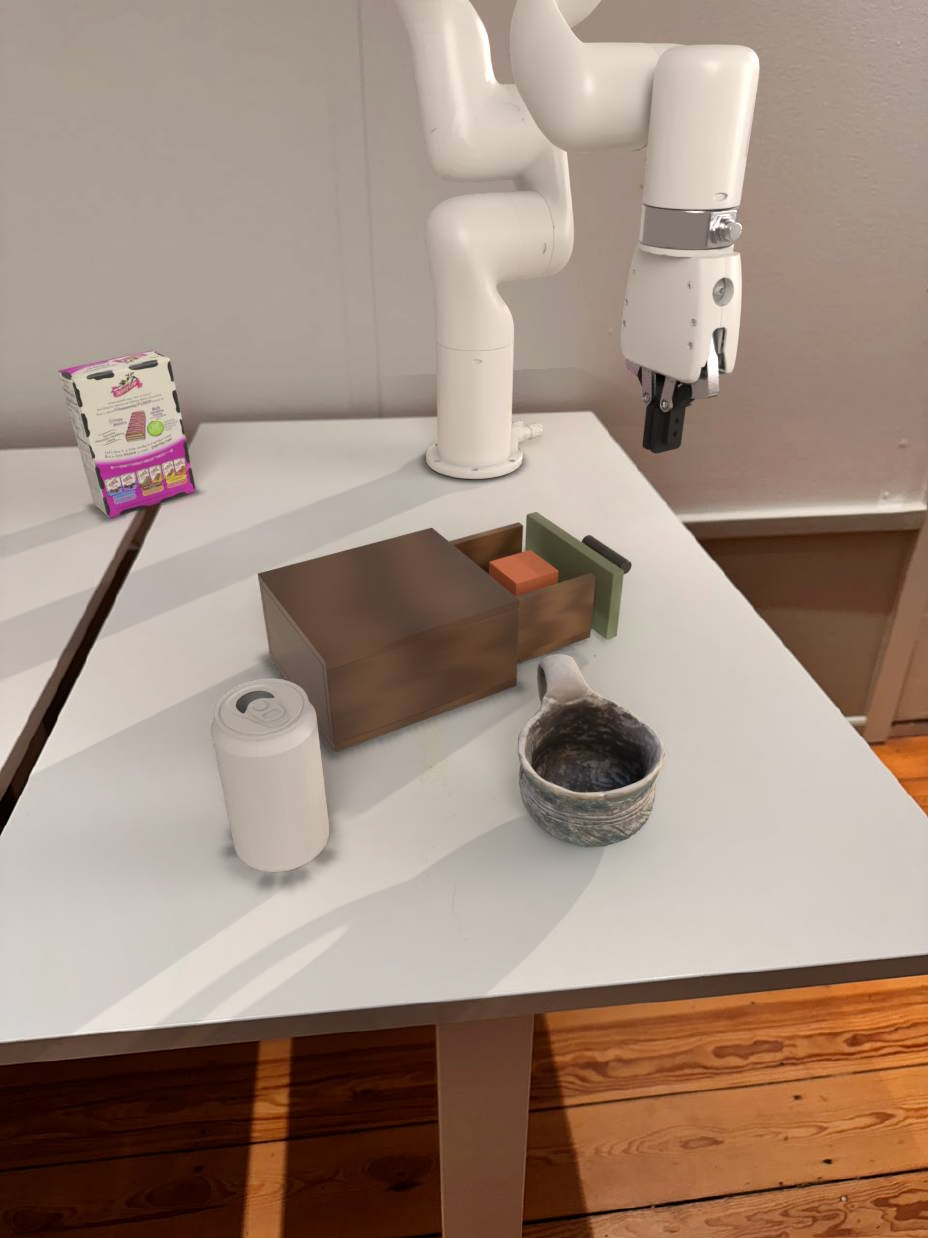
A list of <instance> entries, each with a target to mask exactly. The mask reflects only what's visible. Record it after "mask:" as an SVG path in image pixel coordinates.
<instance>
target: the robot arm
mask: <svg viewBox="0 0 928 1238" xmlns="http://www.w3.org/2000/svg"><path fill="white" fill-rule="evenodd" d="M601 2H602V0H516V2H515V5H514V9H513V12H512V17H511V22H510V30H509V31H510V32H509V56H510V67H511V73H512V77H513V81H514V83H503V84H502V83H499V81H498V80H497V79H496V77H495V73H494V69H493V63H492V55H491V53H492V52H491V44H490V39H489V35H488V32H487V29H486V27H485V25H484V22H483V21H482V19H481V17H480V15H479V14H478V12H477V10H476V8H475V7H474V5H473V4H472V2H471V1H470V0H394V3H395V7H396V9H397V11H398V14H399V17H400V21H401V23H402V26H403V29H404V31H405V35H406V38H407V41H408V44H409V49H410V54H411V59H412V67H413V75H414V83H415V89H416V96H417V104H418V111H419V117H420V118H419V119H420V123H421V131H422V137H423V143H424V148H425V154H426V157H427V161H428V163H429V167H430V169H431V171H432V173H433V174H434V175H435V176H436V177H437V178H438V179H441V180H442V181H445V182H449V183H482V182H497V181H512V183H513V186H514V191H494V192H493V191H492V192H479V193H478V192H477V193H467V194H461V195H457V196H452V197H450V198H447V199H445V200H443V201H441V202H439V203H438V204H437V205H435V207H434V208H433V209H432V210H431V212H430V213H429V215H428V217H427V219H426V223H425V228H424V243H425V251H426V256H427V263H428V267H429V273H430V279H431V286H432V293H433V304H434V305H433V306H434V328H435V329H434V330H435V331H434V333H435V335H434V336H435V337H434V338H435V365H436V366H435V375H436V376H435V379H436V427H437V428H436V429H437V431H436V433H437V434H436V435H437V440H436V441H435V442H434V443H432V444H431V445H430V446H429V447H427V449H426V451H425V461H426V464H427V466H428V467H429V468H430V469H432V470H433V471H434V472H437V473H438V474H441V475H444V476H447V477H450V478H455V479H463V480H485V479H494V478H497V477H503V476H505V475H508V474H510V473H512V472H514V471H516V470H517V469H519V468H520V466H521V465H522V463H523V454H524V452H523V450H522V448H520V447H519V445H521V444H523V443H524V441H526V440H533V439H537V438H541V437H543V434H544V428H543V426H542V424H541V423H540V422H534V423H529V424H526V425H524V422H523V421H522V420H516V421H513V391H514V390H513V388H514V387H513V386H514V352H515V323H514V319H513V315H512V313H511V310H510V308H509V307H508V305H507V304H506V302H505V301H504V299H503V298H502V296H501V295H500V293H499V291H498V288H497V286H498V285H499V284H503V283H508V282H514V281H515V282H516V281H523V280H530V279H531V280H532V279H538V278H545V277H550V276H553V275H556V274H557V273H559V272H561V271H562V270H563V269H564V268H565V267H566V266H567V264H568V263H569V261H570V258H571V257H572V253H573V248H574V242H575V226H574V224H575V222H574V211H573V210H574V209H573V199H572V190H571V189H572V188H571V180H570V170H569V160H568V153H570V154H576V155H577V154H578V155H579V154H581V155H583V154H584V155H585V154H597V153H599V154H601V153H616V152H646V157H645V168H644V177H643V192H642V198H641V199H642V200H641V211H640V223H639V233H638V242H637V243H636V244H635V247H634V250H633V251H634V252H633V255H632V259H631V263H630V267H629V272H628V276H627V282H626V287H625V293H624V299H623V307H622V317H621V326H620V352H621V354H622V356H623V357H624V359H625V360H624V361H625V362H624V366H625V368H626V370H628V371H629V372H630V373H631V374H632V375H634V376H635V377H636V378H637V379H638V381H639V384H640V386H641V399H642V402H643V404H644V405H646V407H645V417H644V425H643V426H644V427H643V434H642V446H641V447H642V448H643V449H645V450H646V451H650V452H651V453H653V454H656V455H657V454H662V453H665V452H669V451H673V450H677V449H679V448H680V447H681V445H682V440H683V431H684V425H685V424H684V423H685V416H686V410H687V409H686V408H690V407H691V406H692V405H693V404H694V401H695V400H707V399H712V398H713V399H714V398H716V397H718V396H719V393H720V377H726V376H729V375H731V374H732V373H733V371H734V368H735V365H736V359H737V353H738V347H739V346H738V345H739V337H740V327H741V316H742V315H741V314H742V297H743V295H742V294H743V277H742V259H741V252H738V251H734V248H735V242H736V241H739V239H740V238H741V236H742V233H743V226H742V224H741V222H738V220H739V214H740V208H741V206H740V205H741V201H742V194H743V187H744V181H745V180H744V179H745V173H746V168H747V167H746V166H747V160H748V153H749V146H750V141H751V140H750V139H751V133H752V126H753V120H754V112H755V106H756V105H755V104H756V100H757V93H758V86H759V78H760V60H759V56H758V55H757V53H756V51H754V49H752V48H750V47H749V46H746V45H741V44H721V43H719V44H718V43H717V44H713V43H711V44H689V45H688V44H681V43H671V42H621V41H620V42H619V41H618V42H616V41H614V42H613V41H611V42H610V41H609V42H608V41H604V42H583V41H582V40H580V39H579V38H578V37H577V36H576V35H575V33H574V32H573V30H572V28H573V27H575V26H578V24H580V23H581V22H582V21H584V20H585V19H586V18H587V17H588V16H589V15H590V14H591V13H592V12H593V11H594V10H595V9H596V8H597V7H598V5H599V4H600V3H601Z"/></svg>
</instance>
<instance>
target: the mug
mask: <svg viewBox="0 0 928 1238" xmlns="http://www.w3.org/2000/svg"><path fill="white" fill-rule="evenodd" d="M536 681H537V689H538V696H539V701H540V707H539V709H538V710H537V711H536V712H535V713H534V714H533V715H532V717H530V718H529V719H528V720H527V722H526V723H525V724H524V725H523V726H522V728H521V730H520V732H519V734H518V738H517V755H518V760H519V763H520V765H519V771H518V785H519V790H520V796H521V801H522V803H523V805H524V808H525V810H526V812H527V813H528V814H529V815H530V817H531V818H532V820H533V821H534V822H535V823H536V824H537V825H538V826H539V827H540V828H541V829H542V830H544V831H545V832H546V833H547V834H549V835H550V836H552V837H553V838H556V839H558V840H560V841H563V842H564V843H569V844H572V845H574V846H579V847H584V848H601V847H607V846H610V845H614V844H618V843H621V842H623V841H625V840H629V839H630V838H631V837H633V836H635V835H636V834H637V833H638V832H639V831H640V830H641V829H642V828H643V827H644V826H645V825H646V823H647V822H648V820H649V819H650V816H651V814H652V811H653V809H654V805H655V801H656V795H657V793H656V787H657V785H656V779H657V778H658V775H659V773H660V771H661V769H662V767H663V765H664V762H665V761H664V758H665V756H666V747H665V744H664V742H663V740H662V738H661V737H660V735H659V733H658V732H657V731H656V730H655V729H654V728H653V727H652V726H651V725H650V724H648V723H646V722H644V721H642V719H641V718H640V717H639V716H638V715H636V714H635V713H634V712H632V710H630V709H629V708H627V707H625V706H624V705H622V704H620V703H618V702H617V701H615V700H612V699H610V698H609V697H606V696H603V695H601V694H599V693H597V692H596V691H595V690H593V689H592V688H591V687H590V686H589V684H588V683H587V682H586V680H585V677H584V675H583V674H582V672H581V670H580V667H579V665H578V663H577V662H576V660H575V659H574V658H573V657H572V656H570V655H568V654H565V653H554V654H549V655H547V656H545V657H542V658H541V659H540V660H539V662H538V663H537V669H536Z"/></svg>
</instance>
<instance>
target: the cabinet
mask: <svg viewBox="0 0 928 1238" xmlns="http://www.w3.org/2000/svg"><path fill="white" fill-rule="evenodd" d="M449 541H450V540H447V539H446V538H445V537H444V536H443V535H441V533H439V532H438V531H437V530H436V529H434V528H433V527H428V528H425V529H421V530H417V531H413V532H409V533H406V534H402V535H398V536H394V537H391V538H387V539H383V540H379V541H376V542H372V543H367V544H365V545H360V546H356V547H353V548H349V549H346V550H341V551H338V552H337V551H336V552H334V553H330V554H326V555H323V556H318V557H314V558H312V559H307V560H304V561H300V562H296V563H293V564H292V563H291V564H288V565H285V566H284V565H283V566H281V567H277V568H273V569H269V570H265V571H261V572H258V573H257V579H258V584H259V586H258V587H259V592H260V597H261V605H262V606H261V607H262V611H263V619H264V625H265V633H266V639H267V643H268V644H267V646H268V652H269V657H270V659H271V661H272V662H273V664H274V665H275V666H276V668H277V669H278V671H279V672H280V674H281V676H282V677H283V678H284V680H286V681H290V682H292V683H295V684H296V685H298V686H300V687H301V688H302V689H303V690H304V691H305V693H306V694H307V697H308V701H309V702H310V703H311V704H312V706H313V707H314V709H315V711H316V716H317V725H318V730H320V732H321V733H322V734H323V736H324V737H325V739H326V740H327V742H328V743H329V745H330V746H331V748H332V750H333V751H334V752H335V753H337V752H339V751H342V750H346V749H348V748H351V747H353V746H356V745H358V744H359V745H360V744H362V743H364V742H367V741H369V740H373V739H375V738H377V737H381V736H383V735H387V734H389V733H392V732H394V731H397V730H400V729H402V728H406V727H408V726H410V725H413V724H416V723H419V722H421V721H424V720H427V719H429V718H433V717H435V716H438V715H441V714H443V713H446V712H448V711H451V710H454V709H457V708H459V707H463V706H465V705H467V704H470V703H473V702H476V701H478V700H481V699H484V698H486V697H490V696H492V695H494V694H497V693H500V692H503V691H505V690H508V689H512V688H514V687H516V686H517V674H518V672H517V671H518V663H517V649H518V624H519V603H520V600H519V599H518V598H517V597H515V596H514V595H513V594H512V593H511V592H509V591H508V590H507V589H506V588H505V587H503V586H502V585H501V584H500V583H499V582H497V581H496V580H495V579H494V578H492V577H491V576H490V575H489V574H488V573H486V572H485V571H484V570H483V569H482V568H480V567H479V566H478V565H477V564H476V563H474V562H473V561H472V560H471V559H469V558H468V557H467V556H466V555H465V554H463V553H462V552H461V551H460V550H459V549H457V548H456V547H455V546H454V545H453V544H451V543H450V542H449Z"/></svg>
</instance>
